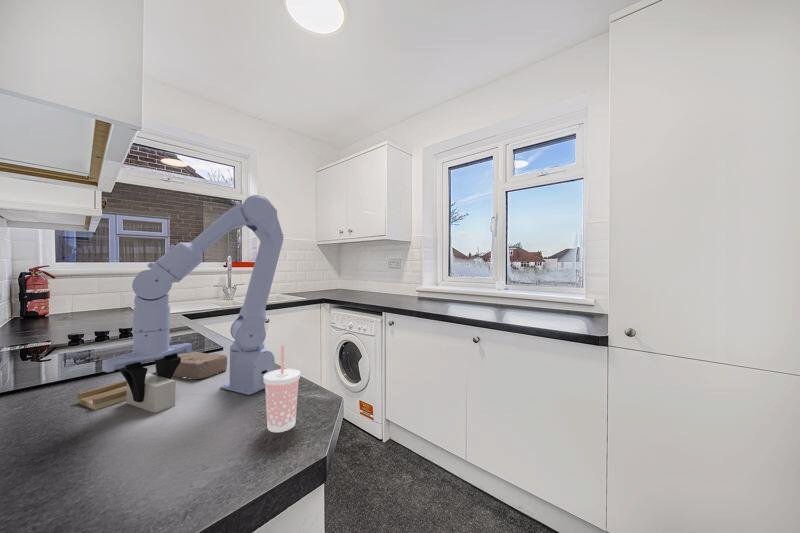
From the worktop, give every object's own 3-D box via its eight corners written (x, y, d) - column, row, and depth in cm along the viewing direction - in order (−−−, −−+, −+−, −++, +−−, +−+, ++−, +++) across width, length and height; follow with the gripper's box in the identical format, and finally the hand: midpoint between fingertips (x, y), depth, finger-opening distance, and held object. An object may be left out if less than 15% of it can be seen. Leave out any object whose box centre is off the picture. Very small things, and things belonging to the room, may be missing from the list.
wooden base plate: (159, 389, 68) (160, 380, 68) (94, 410, 58) (95, 399, 58) (142, 384, 71) (142, 375, 71) (77, 403, 61) (77, 393, 61)
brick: (152, 374, 79) (153, 356, 79) (185, 364, 86) (185, 348, 86) (198, 383, 73) (199, 363, 73) (228, 371, 81) (229, 354, 81)
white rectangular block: (175, 405, 60) (175, 380, 60) (155, 413, 57) (155, 386, 57) (146, 396, 64) (147, 372, 64) (126, 403, 61) (126, 378, 61)
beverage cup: (271, 416, 56) (272, 341, 56) (304, 417, 56) (305, 341, 56) (255, 434, 50) (256, 350, 50) (292, 435, 50) (293, 350, 50)
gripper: (178, 322, 69) (177, 381, 69) (94, 334, 56) (92, 407, 56) (198, 324, 66) (197, 386, 66) (114, 338, 53) (112, 415, 53)
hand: (150, 396), depth 61 cm, fingers closed on white rectangular block, 3 cm apart
